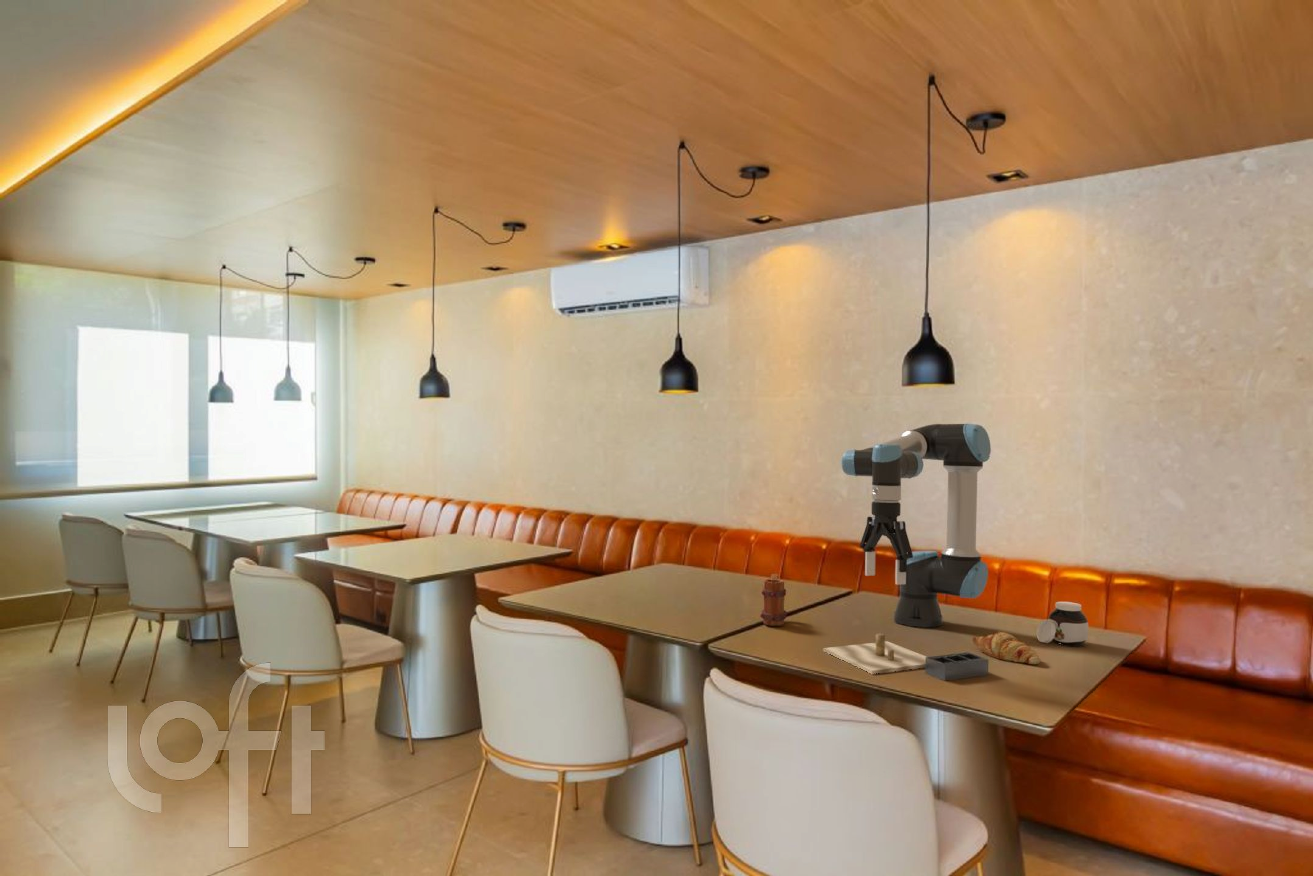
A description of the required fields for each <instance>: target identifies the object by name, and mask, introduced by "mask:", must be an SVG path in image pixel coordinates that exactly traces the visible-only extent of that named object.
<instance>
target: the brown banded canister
mask: <svg viewBox="0 0 1313 876" xmlns="http://www.w3.org/2000/svg"><path fill="white" fill-rule="evenodd" d="M770 577H771V578H770V579H769V578H768V579H765V580H764V581H763V582H764V583H763V584H764V585H763V588H762V590H761V595H762V596H763V609H762V610H761V614H760V618H761V619H763V624H764V625H766V626H768V627H780V626H783V625H784V624H785V620H786V618H787V613H788V612H787V611H786V610H785V596H786V595H787V593H786V592H787V590H786V588H785V582H784V580H783V579H779V578H780V577H779V574H777V573H772V574H771V576H770Z"/></svg>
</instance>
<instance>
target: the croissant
mask: <svg viewBox="0 0 1313 876" xmlns="http://www.w3.org/2000/svg"><path fill="white" fill-rule="evenodd" d="M972 642H973V644H974V646H976V647H977V649H978V650H979V652H981V653H982V652H984V653H983V654H985V655H987V656H989V657H991V656H992V657H991V658H995V659H998V660H1001V659H1002V660H1003V661H1009V662H1013V663H1022V664H1025V663H1026V664H1028V665H1037V664H1039V663H1040V662H1041V658H1040V657H1039V655H1038V653H1037V652H1036V651H1034V649H1032V648H1031V647H1030V646H1029V645H1028V643H1026V642H1024V641H1021V640H1020V641H1019V640H1018V638H1016V636H1014V635H1012V634H1009V633H1007V632H1003V631H998V632H995V633H993V634H992V633H991V634H988V635H987V636H979V637H977V636H975V637H972Z"/></svg>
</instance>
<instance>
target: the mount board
mask: <svg viewBox="0 0 1313 876" xmlns="http://www.w3.org/2000/svg"><path fill="white" fill-rule="evenodd" d="M823 651H824V652H827V653H828V654H827V653H826V654H827V655H829V654H831V655H833V656H835V657H837V658H839V659H841V660H840V661H842V660H844V661H846V662H848V663H851V664H852V665H854V666H857V667H858V668H857V667H856V668H857V669H859V668H861V669H863V670H865V671H867V672H868V673H867V672H866V673H867V674H869V673H871V674H870V675H879V674H878V673H880V674H886V673H888V674H889V673H895V671H896V672H901V671H902V672H903V670H904V671H910V670H909V669H912V670H920V669H925V661H926V657H927V656H926V655H925V654H924V655H923V654H921V653H918V652H916V651H914V650H911V649H908V648H905V647H903V646H901V645H898V644H895V643H893V642H890V641H887V640H886V635H885V634H884V633H876V634H875V642H870V643H859V644H850V645H849V644H848V645H841V646H832V647H824V648H823V647H822V652H823ZM824 652H823V653H824ZM831 655H830V656H831ZM833 656H832V657H833ZM835 657H834V658H835ZM837 658H836V659H837ZM839 659H838V660H839ZM844 661H843V662H844ZM846 662H845V663H846ZM848 663H847V664H848ZM852 665H851V666H852ZM854 666H853V667H854ZM919 668H920V669H919ZM861 669H860V670H861ZM863 670H862V671H863ZM865 671H864V672H865ZM876 673H877V674H876Z"/></svg>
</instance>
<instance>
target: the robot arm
mask: <svg viewBox="0 0 1313 876" xmlns="http://www.w3.org/2000/svg"><path fill="white" fill-rule="evenodd" d="M991 446H992V445H991V441H990V437H989V434H988V432H987V430H986V429H985V427H983V426H982V425H980V424H974V423H943V424H942V423H933V424H928V425H927V424H926V425H924V426H921V427H917V428H913V429H911V430H909V431H905V432H904V433H902V434H901V436H900V437H898V438H894V439H891V440H888V441H886V442H882V443H879V444H878V443H876V444H874V445H873V446H870V447H868V448H864V449H849V450H846V451H844V453H843V455H842V457H841V469H842V471H843V473H844V474H845V475H847V476H854V477H871V478H872V480H871V481H872V482H871V485H872V486H871V499H872V502H871V515H872V516H867V518H866V526H865V529H864V531H863V534H862V538H861V540H860V544H859V548H860V549H863V551H864V562H865V563H864V564H865V565H864V566H865V567H864V569H865V570H864V576H866V577H869V576H875V575H876V549H875V548H876V546H877V545H878V543H879V541H880V540H881V538H882V536H884V537H886V538H887V539H888V540H889V543H890V544H891V547H892V548H893V551H894V553H895V554H896V558H895V571H894V572H895V574H894V576H895V577H894V578H895V579H894V581H895V583H894V584H895V585H899V598H898V601H897V604H896V608H895V611H894V613H893V621H894V622H895V621H896V622H895V623H897V624H899V623H900V625H902V624H905V625H904V626H906V625H908V626H907V627H913V626H919V627H918V628H934V627H933V626H938V627H941V626H942V625H943V623H944V618H943V615H942V611H941V607H940V605H939V601H938V594H940V595H945V596H946V595H948V596H955V597H960V598H961V599H964V598H966V599H967V598H968V599H976V598H978V597H980V595H982V593H983V592H984V590H985V588H986V585H987V583H988V576H989V569H988V565H987V563H986V562H984V561H983V560H982V555H981V554H980V552H979V551H978V550H977V511H978V510H977V508H978V503H977V502H978V501H977V500H978V499H977V498H978V473H979V471H980V470H982V469H983V468H984V463H985V462H987V461H988V460H989V459H990V457H991V456H990V455H991V451H992V450H991ZM923 460H931V461H932V460H933V461H943V462H942V463H943V465H942V466H943V467H944V469H945V470H947V473H948V474H947V506H946V508H947V512H946V547H945V548H944V549H943V550H941V555H940V556H939V552H938V551H936V550H916V551H913V550H912V547H911V544H910V543H911V542H910V540H909V537H908V533H907V529H906V521H905V520H899V521H898V517H899V516H901V505H902V504H901V503H900V500H902V482H901V481H902V479H908V480H909V479H912V478H915V477H918V476H919V475H921V473H922V471H923V470H924V461H923ZM941 624H942V625H941ZM940 625H941V626H940Z"/></svg>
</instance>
